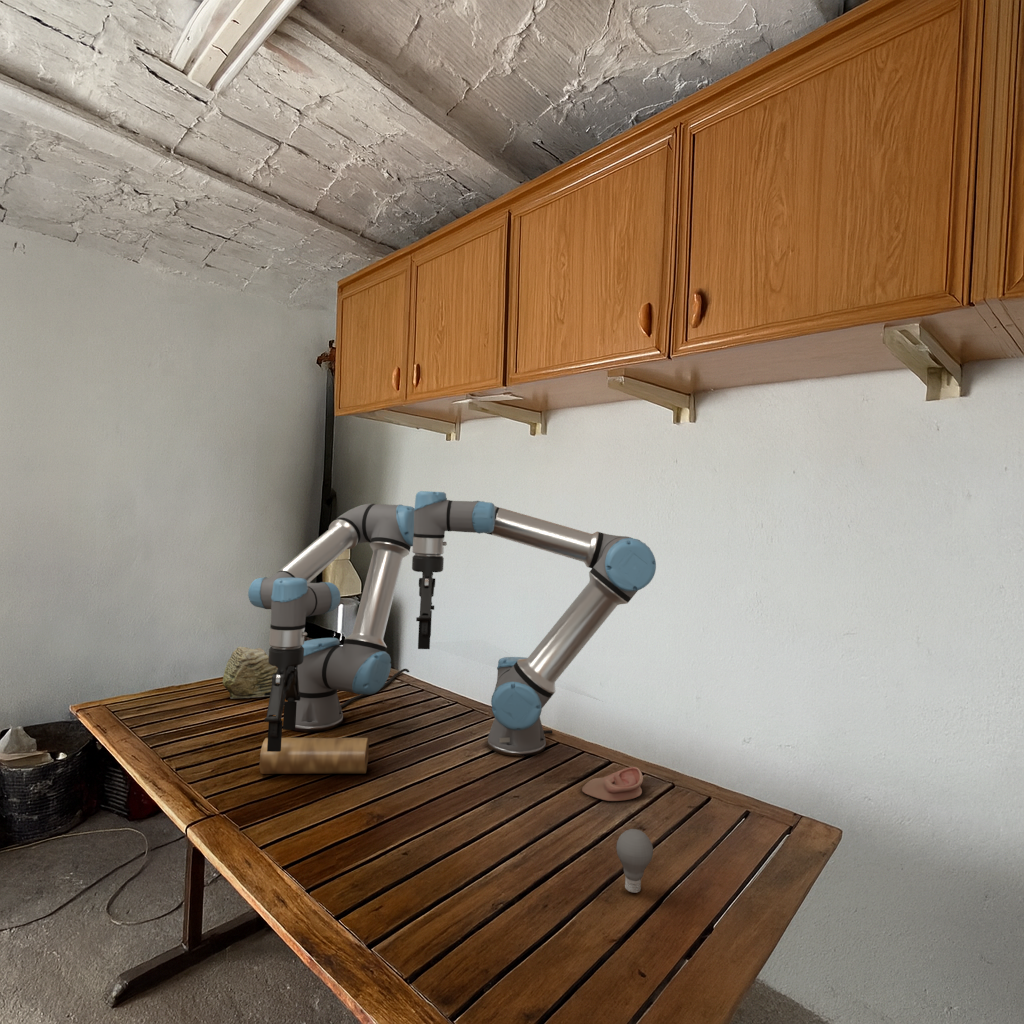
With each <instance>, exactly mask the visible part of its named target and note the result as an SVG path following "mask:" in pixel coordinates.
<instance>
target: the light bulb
mask: <svg viewBox="0 0 1024 1024" xmlns="http://www.w3.org/2000/svg"><path fill="white" fill-rule="evenodd" d="M615 849H616V854H617V857H618V859H619V861H620V863H621V865H622V867H623V873H624V874H623V875H624V876H625V878H624V888H625V890H627V891H628V892H630V893H634V894H635V893H639V892H640V891H641V889H642V887H641V886H642V879H643V877H644V875H645V871H646V868H647V867H648V866H649V864H650V863H651V861H652V859H653V855H654V847H653V843H652V841H651V838H649V836H648V835H647V834H646V833H645V832H643V831H642V830H641V829H636V828H629V829H627V830H625V831H623V832H622V833H621V834H620V835H619V837H618V839H617V841H616V847H615Z"/></svg>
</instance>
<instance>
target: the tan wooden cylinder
mask: <svg viewBox="0 0 1024 1024" xmlns="http://www.w3.org/2000/svg"><path fill="white" fill-rule="evenodd" d="M267 745H268V737H265V738H264V740H263V742H262V745H261V749H260V753H259V772H260V774H261V775H300V774H301V775H322V774H323V775H328V774H329V775H333V774H334V775H337V774H338V775H339V774H340V775H343V774H344V775H347V774H348V775H351V774H353V775H355V774H357V775H358V774H361V775H363V774H365V775H366V773H367V770H368V764H369V763H368V762H369V752H370V751H369V750H370V749H369V748H370V741H369V737H282V740H281V751H280V752H271V751H267Z"/></svg>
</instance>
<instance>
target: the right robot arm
mask: <svg viewBox="0 0 1024 1024" xmlns="http://www.w3.org/2000/svg"><path fill="white" fill-rule="evenodd" d="M414 508H415V509H414V536H413V546H412V553H413V554H414V555H413V556H412V560H411V569H412V571H414V572H416V573H422V577H419V578H418V589H419V590H418V595H419V597H420V600H419V601H420V602H419V603H420V604H419V616H417V617H415V619H416V620H415V621H416V622H418V635H417V636H418V637H417V649H418V650H430V649H431V636H432V617H433V611H435V605H433V601H432V600H433V597H434V595H435V587H436V578H435V577H433V576H434V573H441V572H443V571H444V559H445V558H444V556H443V554H444V553H445V546H447V545H448V543H447V541H445V537H446V536H445V534H446V532H458V533H474V534H479V535H480V534H487V535H491V536H494V537H497V538H501V539H504V540H507V541H511V542H514V543H518V544H521V545H525V546H528V547H531V548H535V549H537V550H542V551H545V552H549V553H550V554H551V553H552V554H554V555H558V556H562V557H565V558H568V559H572V560H575V561H579V562H582V563H584V564H585V566H586V567H587V568H589V569H590V571H589V572H588V576H589V581H588V583H587V584H586V585H585V587H584V588H583V589H582V590H581V592H579V594H578V595H577V597H576V598H575V599H574V600H573V602H571V604H570V605H569V607H568V608H566V610H565V611H564V613H563V614H562V615H561V616H560V618H559V619H558V620H557V621H556V623H555V624H554V625H553V626H552V628H551V629H550V630H549V631H548V632H547V634H546V635H545V636H544V637H543V638H542V640H541V641H540V642H539V644H538V645H537V646H536V647H535V648H534V650H533V651H532V652H531V654H529V656H527V657H523V656H504V657H501V658H499V660H498V662H497V663H498V664H497V667H496V671H497V677H496V684H495V687H494V690H493V693H492V695H491V700H490V702H491V703H490V704H491V711H492V714H493V716H494V719H493V722H492V724H491V726H490V729H489V732H488V735H487V747H488V748H489V749H490V750H491V751H492V752H495V753H496V754H499V755H503V756H509V757H521V758H522V757H531V756H536V755H538V754H541V753H542V752H544V751H545V749H546V746H547V745H546V743H547V742H546V741H547V740H546V735H552V734H553V730H552V729H546V730H544V728H543V724H542V721H541V715H542V711H543V710H542V709H543V708H544V706H545V705H546V704H547V703H548V702H549V700H550V699H551V698H552V697H553V695H554V694H555V693H556V682H557V680H558V679H559V678H560V677H561V676H562V675H563V674H564V672H565V671H566V670H567V668H568V667H569V666H570V664H571V663H572V662H573V661H574V660H575V658H576V657H577V656H578V655H579V653H580V652H581V651H582V650H583V648H584V647H585V646H586V645H587V643H588V642H589V641H590V640H591V638H593V636H594V635H595V634H596V633H597V631H598V630H599V629H600V628H601V626H602V625H603V624H604V623H605V622H606V620H607V619H608V618H609V617H610V615H611V614H612V613H613V612H614V610H615V609H616V608H617V607H618V606H620V605H626V604H628V603H630V601H631V600H632V599H633V598H634V596H635V595H636V594H637V593H638V592H639V591H640V590H642V589H644V588H646V587H647V586H648V585H649V584H650V583H651V582H652V581H653V579H654V577H655V574H656V570H657V562H656V557H655V554H654V553H653V551H652V550H651V547H649V546H648V545H647V544H646V543H645V542H643V541H642V540H640V539H638V538H633V537H632V536H631V537H630V536H626V535H625V536H623V535H614V534H609V533H604V532H601V531H594V532H593V533H590V532H587V531H583V530H579V529H577V528H573V527H569V526H566V525H562V524H558V523H554V522H553V521H548V520H545V519H541V518H537V517H534V516H532V515H527V514H524V513H521V512H517V511H513V510H510V509H507V508H503V507H499V506H496V505H495V504H494V502H488V501H484V500H483V501H482V500H473V501H472V500H451V499H448V497H447V493H446V492H445V491H429V490H427V491H426V490H419V491H417V493H416V495H415V500H414Z"/></svg>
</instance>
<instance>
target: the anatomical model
mask: <svg viewBox="0 0 1024 1024" xmlns="http://www.w3.org/2000/svg"><path fill="white" fill-rule="evenodd" d="M643 782H644V775H643V773H642V771H641V770H640V769H639V768H638V767H637V766H630V767H625V768H623V769H620V770H617V771H615V772H613V773H610V774H608V775H605V776H604V777H596V778H595V777H594V778H592V779H590V780H588V781H587V782H586V783H585V784H584V785H583V786H582V788H581V792H582V793H583V794H585V795H587V796H590V797H593V798H595V799H598V800H602V801H606V802H619V801H621V802H622V801H628V800H633V799H635V798H638V797H640V796H641V795H642V793H643V789H642V787H641V786H642V784H643Z"/></svg>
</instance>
